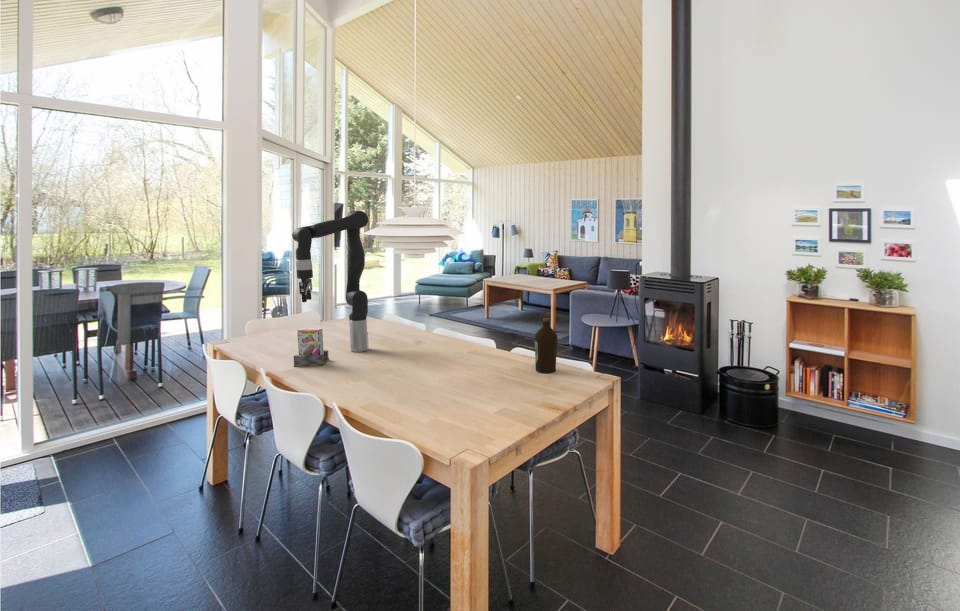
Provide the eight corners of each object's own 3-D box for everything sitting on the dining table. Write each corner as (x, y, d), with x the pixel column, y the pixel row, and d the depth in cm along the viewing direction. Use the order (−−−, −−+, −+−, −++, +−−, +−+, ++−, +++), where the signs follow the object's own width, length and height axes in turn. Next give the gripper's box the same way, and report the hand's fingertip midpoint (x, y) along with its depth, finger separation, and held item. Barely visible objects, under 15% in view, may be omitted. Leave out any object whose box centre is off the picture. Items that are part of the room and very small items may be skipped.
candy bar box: (298, 362, 247) (296, 330, 244) (303, 359, 252) (300, 327, 249) (320, 362, 246) (318, 330, 244) (324, 360, 251) (322, 328, 249)
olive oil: (556, 367, 240) (557, 316, 236) (557, 374, 229) (558, 320, 225) (534, 366, 241) (535, 316, 237) (533, 373, 231) (534, 320, 227)
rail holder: (329, 359, 256) (328, 350, 255) (322, 366, 244) (322, 356, 243) (301, 360, 255) (300, 350, 254) (293, 366, 243) (293, 356, 243)
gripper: (308, 270, 241) (310, 303, 244) (315, 267, 255) (318, 298, 258) (292, 270, 241) (295, 303, 244) (300, 267, 255) (303, 298, 258)
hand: (306, 300), depth 251 cm, fingers open, 8 cm apart
